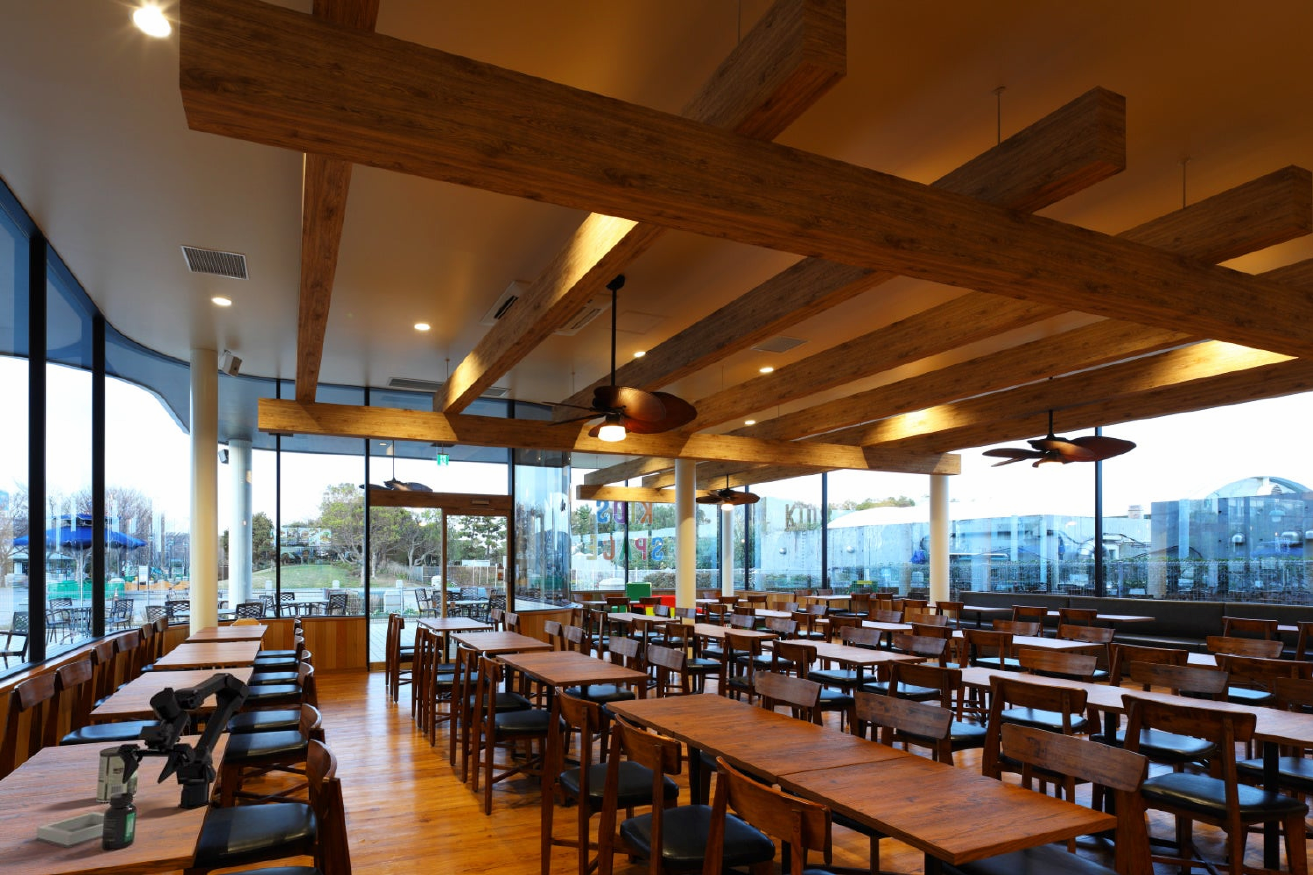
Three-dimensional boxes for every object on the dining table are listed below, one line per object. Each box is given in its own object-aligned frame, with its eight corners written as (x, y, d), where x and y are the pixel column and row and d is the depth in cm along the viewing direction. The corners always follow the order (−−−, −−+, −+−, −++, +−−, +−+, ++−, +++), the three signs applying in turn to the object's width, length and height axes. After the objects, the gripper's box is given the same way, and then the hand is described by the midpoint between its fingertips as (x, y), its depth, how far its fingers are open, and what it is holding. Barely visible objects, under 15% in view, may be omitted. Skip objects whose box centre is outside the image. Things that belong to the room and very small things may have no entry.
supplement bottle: (136, 845, 201) (140, 795, 203) (104, 852, 196) (108, 800, 198) (130, 839, 206) (134, 789, 208) (98, 845, 201) (103, 795, 203)
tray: (94, 823, 219) (95, 811, 219) (125, 830, 213) (126, 818, 213) (36, 839, 206) (37, 827, 207) (68, 847, 200) (69, 834, 201)
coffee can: (126, 791, 249) (130, 743, 251) (143, 796, 244) (147, 747, 246) (88, 799, 240) (93, 750, 242) (105, 805, 235) (109, 754, 237)
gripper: (124, 712, 218) (91, 765, 205) (193, 712, 218) (164, 765, 205) (141, 736, 225) (110, 789, 212) (207, 736, 224) (180, 789, 212)
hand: (140, 782), depth 210 cm, fingers open, 9 cm apart
